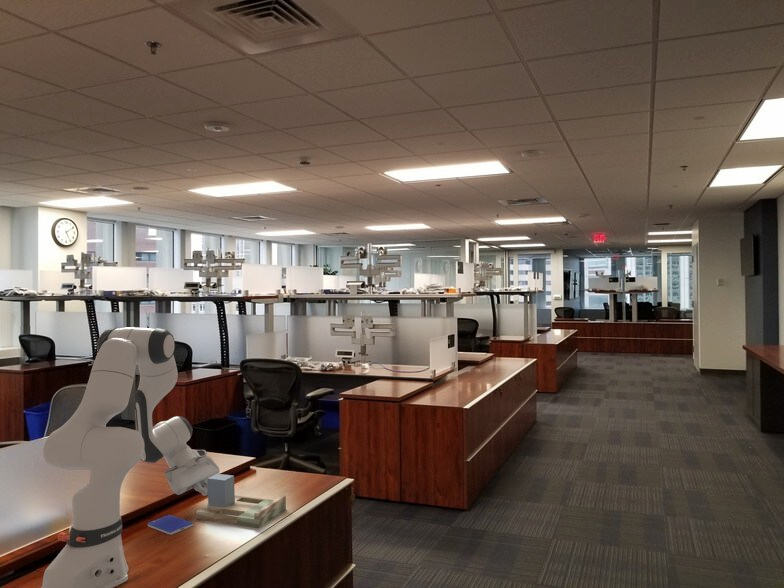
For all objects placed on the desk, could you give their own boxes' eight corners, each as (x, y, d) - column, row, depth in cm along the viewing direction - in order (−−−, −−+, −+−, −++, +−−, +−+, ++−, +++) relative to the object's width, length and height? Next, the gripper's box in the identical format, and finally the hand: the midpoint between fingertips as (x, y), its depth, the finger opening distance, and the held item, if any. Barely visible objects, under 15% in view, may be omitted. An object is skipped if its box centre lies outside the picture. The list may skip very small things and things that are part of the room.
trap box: (258, 527, 179) (258, 513, 179) (196, 518, 188) (195, 505, 188) (286, 509, 194) (285, 495, 194) (226, 501, 202) (226, 488, 202)
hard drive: (147, 522, 183) (170, 531, 176) (170, 514, 189) (193, 522, 182) (147, 527, 183) (170, 536, 176) (170, 518, 189) (193, 527, 182)
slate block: (225, 507, 190) (224, 480, 190) (208, 505, 192) (207, 478, 192) (234, 502, 195) (234, 475, 195) (217, 500, 197) (217, 473, 197)
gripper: (167, 465, 188) (192, 498, 185) (208, 448, 207) (231, 478, 204) (156, 477, 190) (181, 510, 187) (198, 460, 209) (221, 489, 206)
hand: (208, 493), depth 195 cm, fingers closed
